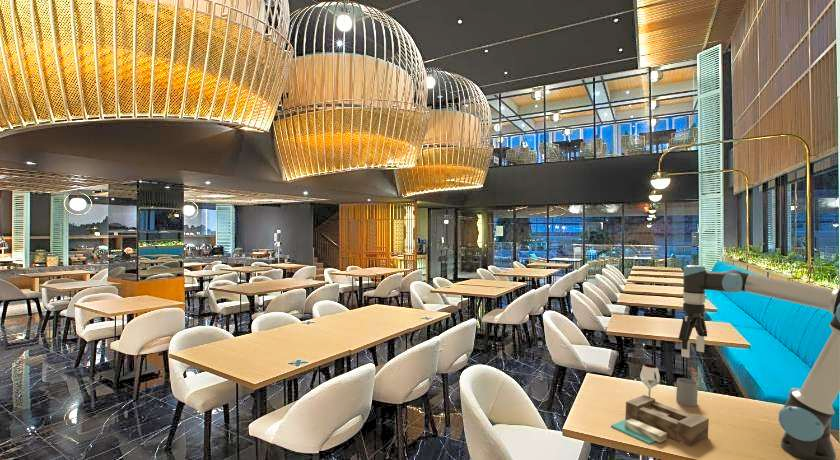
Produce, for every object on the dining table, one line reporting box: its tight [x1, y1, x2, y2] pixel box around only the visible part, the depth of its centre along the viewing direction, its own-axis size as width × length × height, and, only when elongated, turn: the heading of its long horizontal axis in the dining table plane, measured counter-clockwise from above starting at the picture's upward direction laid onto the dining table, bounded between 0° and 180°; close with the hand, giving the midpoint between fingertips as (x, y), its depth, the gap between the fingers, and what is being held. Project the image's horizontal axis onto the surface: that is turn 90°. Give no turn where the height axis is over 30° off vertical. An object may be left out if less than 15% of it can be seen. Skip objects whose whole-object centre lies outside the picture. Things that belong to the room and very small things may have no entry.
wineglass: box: [639, 363, 661, 397], centre depth 199 cm, size 8×8×18 cm
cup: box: [675, 377, 699, 407], centre depth 202 cm, size 8×8×10 cm
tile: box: [625, 419, 668, 443], centre depth 170 cm, size 14×5×2 cm, turn 34°
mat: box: [610, 419, 656, 445], centre depth 173 cm, size 16×12×1 cm
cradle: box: [624, 394, 710, 447], centre depth 177 cm, size 26×14×8 cm, turn 33°
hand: (692, 354), depth 177 cm, fingers open, 13 cm apart
